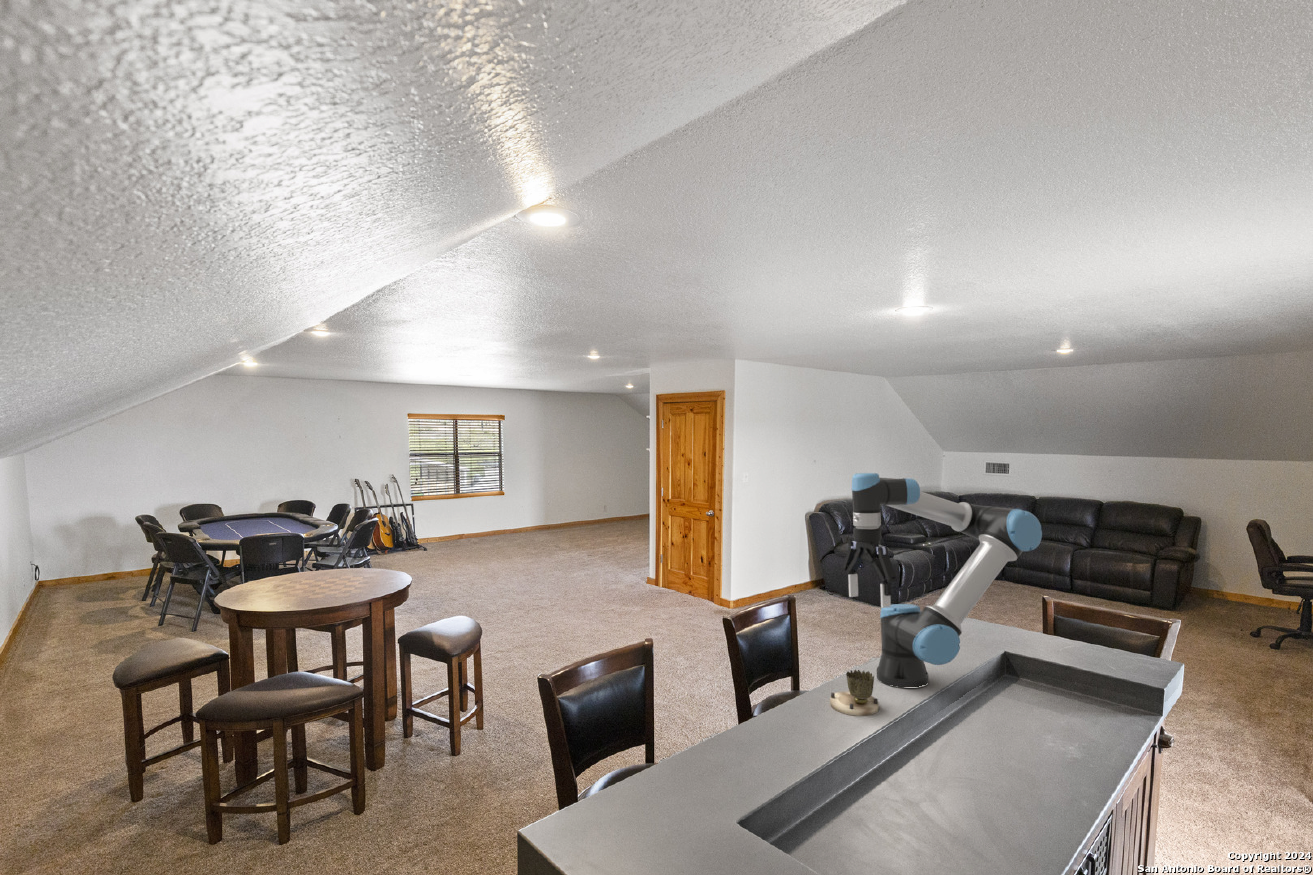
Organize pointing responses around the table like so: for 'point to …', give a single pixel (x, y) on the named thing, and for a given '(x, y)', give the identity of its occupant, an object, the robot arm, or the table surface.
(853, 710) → the seat plate
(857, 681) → the ornate scalloped bell shade
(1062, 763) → the table surface
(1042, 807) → the table surface
